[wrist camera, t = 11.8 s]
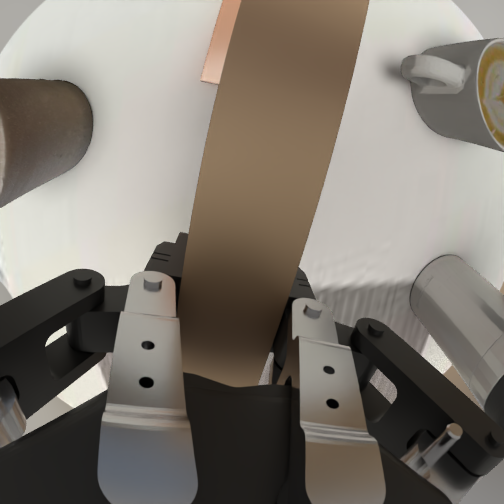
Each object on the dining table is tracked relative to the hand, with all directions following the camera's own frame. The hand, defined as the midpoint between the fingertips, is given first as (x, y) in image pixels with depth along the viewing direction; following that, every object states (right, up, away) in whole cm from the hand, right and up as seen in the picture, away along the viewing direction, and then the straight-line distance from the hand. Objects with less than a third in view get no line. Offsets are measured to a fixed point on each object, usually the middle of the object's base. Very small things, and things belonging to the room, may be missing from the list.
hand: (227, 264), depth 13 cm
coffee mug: (+20, +18, +13) cm, 29 cm away
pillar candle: (-18, +12, +12) cm, 25 cm away
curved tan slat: (0, +1, +2) cm, 2 cm away
